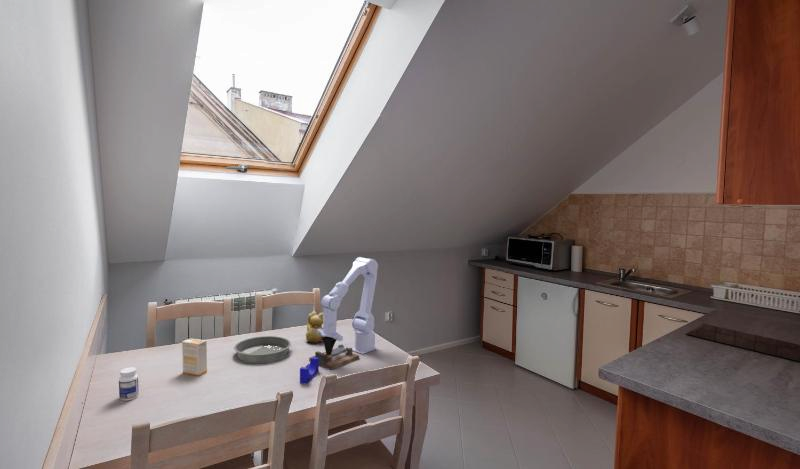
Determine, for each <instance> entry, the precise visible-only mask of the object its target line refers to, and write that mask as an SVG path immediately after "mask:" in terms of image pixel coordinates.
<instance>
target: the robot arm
mask: <svg viewBox="0 0 800 469" xmlns="http://www.w3.org/2000/svg"><path fill="white" fill-rule="evenodd" d="M378 268H379V263H378V262H377V261H376V259H374V258H367V257H366V258H365V257H362V256H358V257H357V258H355V260H354V261H353V262H352V267H351V269H350V270H349V271H348V273H347V274H346V276H345V277H344V278H343V280H342V281H339V282H337V283H336V284H335V286H334V287H333V288H332V289H331V291H330V292H329V293H328V294H326V295H324V296H323V297H322V299H321V301H320V305H321V307H322V311H323V324H322V328H323V329H317V334H321V336H323V337H322V338H321V342H322V344H323V346H324V349H325V352H326V353H327V354H331V353H332V350H333V349H334V346H335V344H336V342H337V341H338V342H342V341H343V339H344V338H343V335H341V334H340V333H339V332H337V320H338V319H337V316H338V308H340V305H341V302H342V300H343V298H344V297H345V295H346V294H347V293H348V292H349V286H350V285H351V284H352V283H353V282H354V281H355V280H356V279H357V277H359V276H360V275H362V276H363V277H364V283H363V288H362V293H361V297H360V305H359V310H357V312H355V313H354V317H353V319H352V322H351V326H352V328H353V329H354V330H353V331H354V334H355V337H354V347H353V348H352V347H351V348H352V352H355V353H359V354H361V355H365V354H367V353H370V352H372V351H375V350H376V349H377V347H376V334H375V331H374V328H375V316H374V314H373V313H372V306H373V302H374V295H375V290H376V284H377V277H378Z"/></svg>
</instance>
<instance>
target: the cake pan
mask: <svg viewBox="0 0 800 469" xmlns="http://www.w3.org/2000/svg"><path fill="white" fill-rule="evenodd" d="M268 345H270V346H272V347H271V348H270V349H269V348H267V347H264V346H268ZM291 345H292V342H291V340H289V339H287V338H286V337H282V336H275V335H263V336H256V337H255V336H254V337H250V338H245V339H243V340H240V341H239V342H237V343H236V344H234V346H233V349H234V351H235V352H236V355H237V358H239V360H240V361H242V362H245V363H246V362H247V363H254V364H258V363H260V364H261V363H268V362H269V363H270V362H274V361H279V360H280V359H282V358H284V357H285V356H286V355H287V354H288V351H289V348H290V347H291ZM275 346H277V347H275ZM256 347H259V348H258V349H256V350H255V351H251V352H249V353H246V352H244V351H245V350H248V349H251V348H256ZM273 347H274V348H273ZM279 348H281V349H280V350H279ZM273 349H275V350H273ZM277 349H278V350H277Z"/></svg>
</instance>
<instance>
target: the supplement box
mask: <svg viewBox="0 0 800 469" xmlns="http://www.w3.org/2000/svg"><path fill="white" fill-rule="evenodd" d="M181 343H182V344H181V346H182V347H181V348H182V349H181V350H182V374H187V375H192V376H197V377H199V376H202V375H204V374H205V373H207V371H208V364H207V363H208V360H207V359H208V358H207V355H208V354H207V352H208V351H207V350H208V349H207V348H208V347H207V340H204V339H198V338H192V337H191V338H188V339H185V340H182V342H181Z"/></svg>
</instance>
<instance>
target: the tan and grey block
mask: <svg viewBox="0 0 800 469" xmlns="http://www.w3.org/2000/svg"><path fill="white" fill-rule="evenodd" d="M336 348H337V349H335V348H333V349H334V350H332V353H331V354H327V353H326V351H324V352H322V353H324V354H327V359H328V358H330V357H333V356H335V355H338V354H340V353H343V352H345V351H347V349H348V348H349V347H347V346H344V345H343V346H342V347H339V348H338V347H336Z"/></svg>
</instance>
